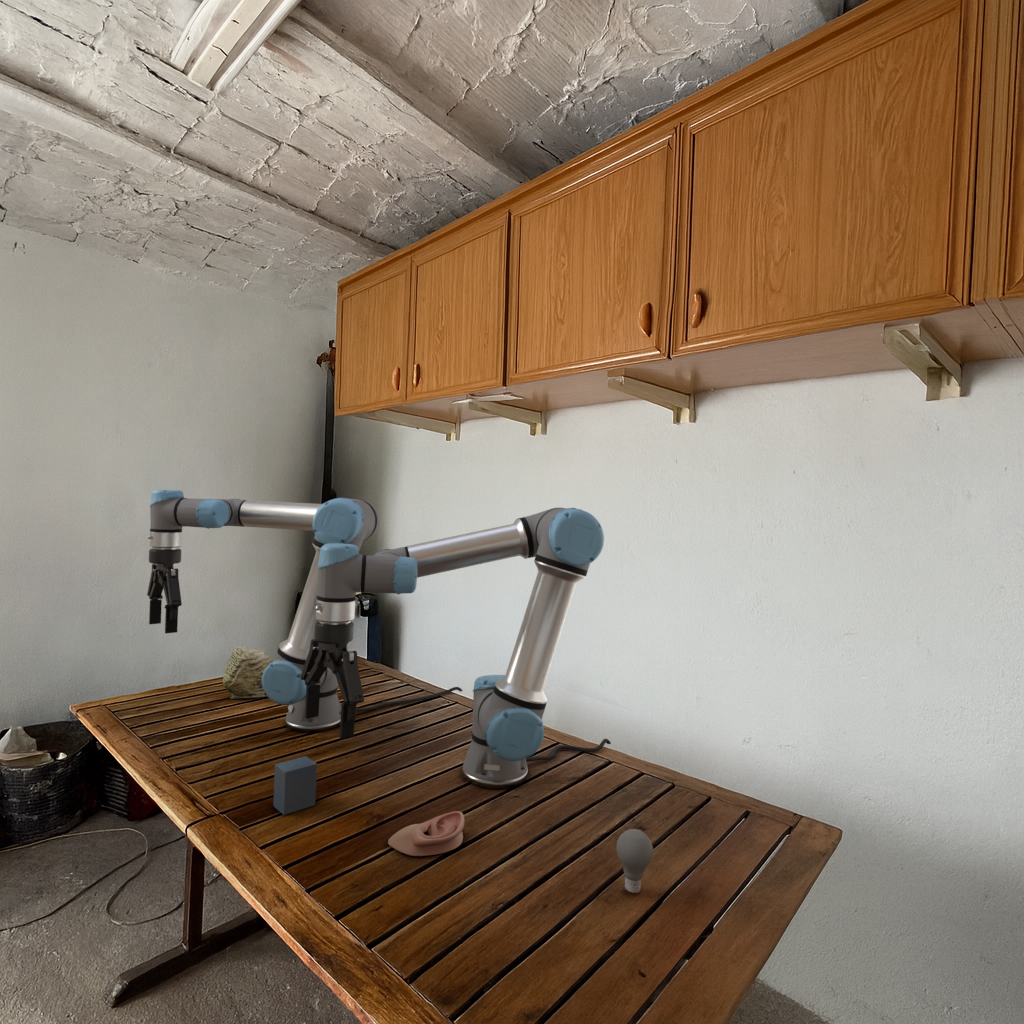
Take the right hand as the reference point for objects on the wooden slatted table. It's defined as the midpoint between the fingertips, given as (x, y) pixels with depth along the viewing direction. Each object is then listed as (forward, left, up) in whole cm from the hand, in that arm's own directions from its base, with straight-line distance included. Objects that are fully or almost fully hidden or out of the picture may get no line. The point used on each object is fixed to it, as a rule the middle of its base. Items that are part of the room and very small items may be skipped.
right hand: (328, 726), depth 127 cm
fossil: (+10, -82, -18) cm, 85 cm away
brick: (+5, -5, -18) cm, 19 cm away
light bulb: (-44, +44, -18) cm, 64 cm away
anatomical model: (-16, +17, -18) cm, 29 cm away
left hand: (+34, -61, +9) cm, 70 cm away
